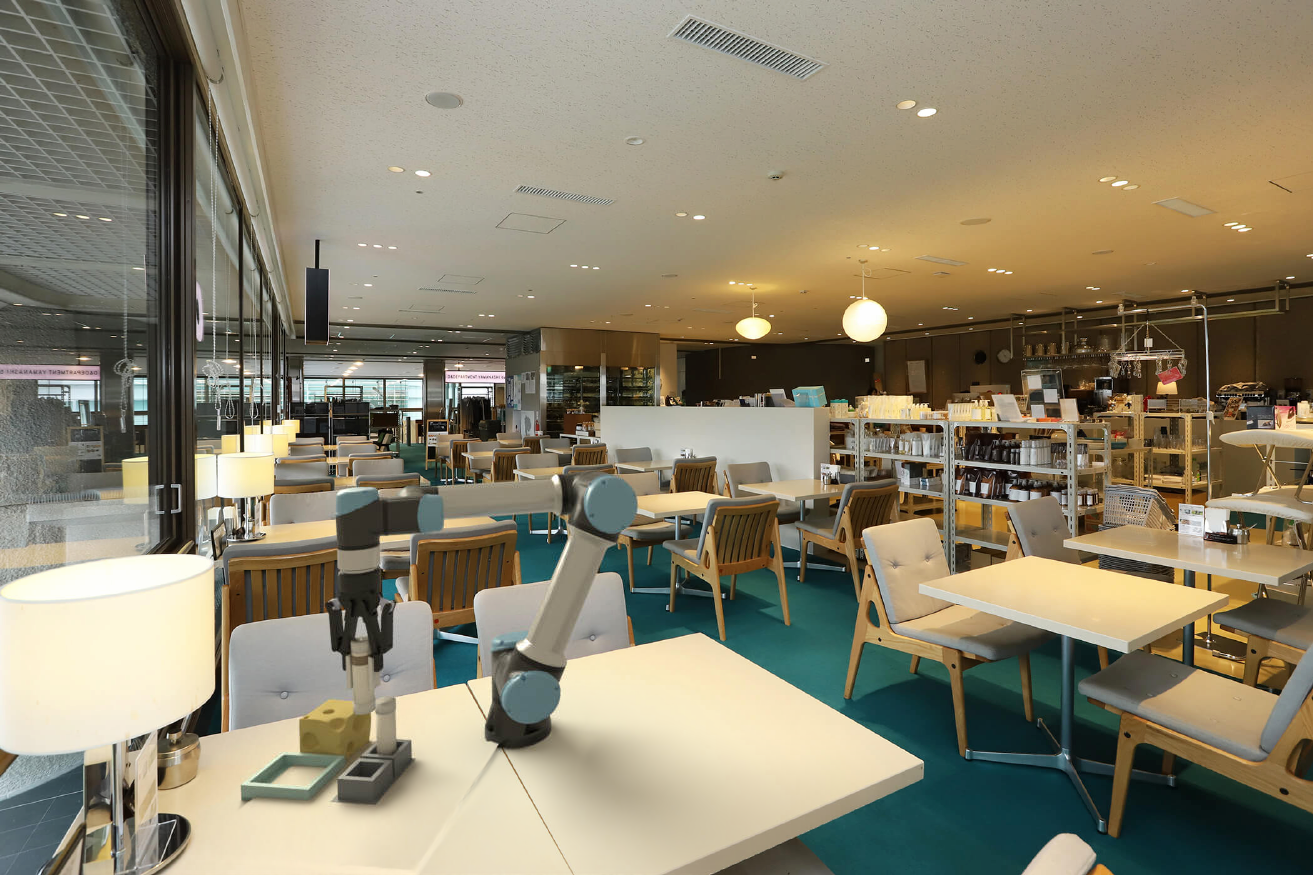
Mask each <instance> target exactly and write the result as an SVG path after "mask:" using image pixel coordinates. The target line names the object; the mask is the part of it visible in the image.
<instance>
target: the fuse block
mask: <svg viewBox="0 0 1313 875" xmlns="http://www.w3.org/2000/svg"><path fill="white" fill-rule="evenodd" d="M375 703H376V709H375V710H374V713H375V728H376V730H375V733H376V737H375V738H376V741H374V743H373V744H371V745H370V747H369V748H368V749H366V750H365V751H364V752H363V753H362V754H361V755H360V757H358V758H357V759H356V760H355V761H354V762H353V763H351V765H350V766H348V768H346V770H344V772H342V773H341V774H340V775H339V776H338V777H337V778H336V781H337V783H336V784H337V787H336V788H337V794H336V795H335V796H334V797H333V799H331V800H330V802H331V803H343V804H345V803H346V804H357V805H358V804H359V805H373V806H376V805H377V803H378V802H379V801H380V800H381V799H382V798H383V796H385V794H386V793H388V791H389V790H390V789H391V788H392V786H393V785H394V784H395V783H396V782H397V780H398V779H399V778H400V777H402V775H403V774H404V773H405V772H406V771H407V769H409V767H410V766H411V765H412V763H413V762H414V761H415V760H416V758H415V757H413V753H412V752H413V751H412V739H402V738H401V739H399V738H397V715H396V713H397V711H396V710H397V699H396V697H395V696H383V697H380V698H377V699H375ZM398 781H399V780H398Z"/></svg>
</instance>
